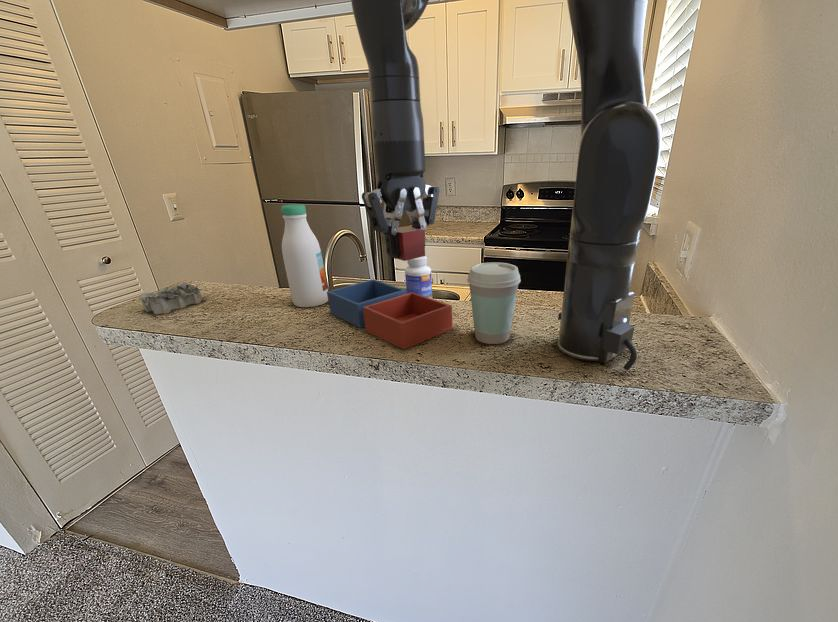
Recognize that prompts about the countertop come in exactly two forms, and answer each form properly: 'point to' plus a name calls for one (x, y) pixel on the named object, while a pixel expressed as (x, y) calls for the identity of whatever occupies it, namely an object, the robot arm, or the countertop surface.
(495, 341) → the coffee cup
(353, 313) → the blue bin
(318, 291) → the milk bottle
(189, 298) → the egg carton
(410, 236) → the red block
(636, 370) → the countertop surface
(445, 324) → the red bin
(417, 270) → the pill bottle
